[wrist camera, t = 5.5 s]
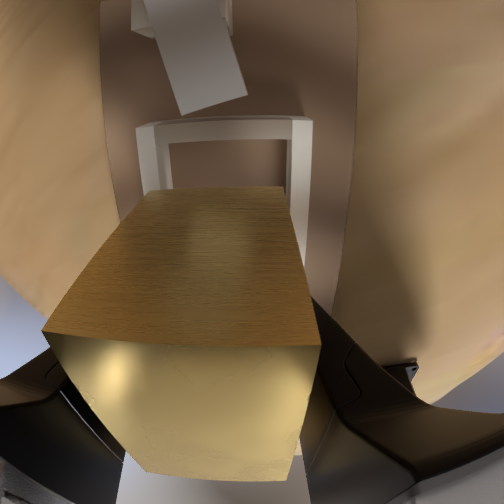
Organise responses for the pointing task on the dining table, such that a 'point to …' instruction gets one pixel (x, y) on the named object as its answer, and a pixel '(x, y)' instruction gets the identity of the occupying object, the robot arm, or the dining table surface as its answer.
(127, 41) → the coupling base
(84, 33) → the dining table surface
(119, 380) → the tan rectangular block
